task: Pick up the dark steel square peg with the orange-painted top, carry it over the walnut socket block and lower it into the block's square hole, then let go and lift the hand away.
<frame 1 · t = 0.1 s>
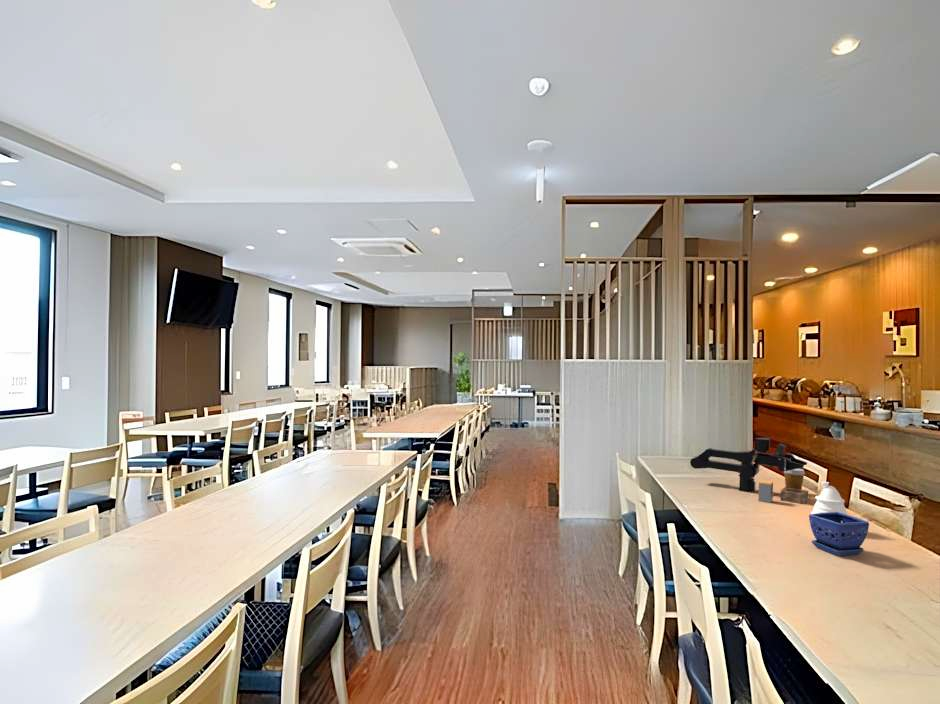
hand: (805, 464, 283), 17 cm above the table, tool horizontal, fingers open, 9 cm apart
socket block: (794, 500, 281), on the table
flower pot: (837, 551, 209), on the table
disposable coffee cup: (793, 493, 295), on the table
honey pot: (829, 528, 237), on the table
steel peg: (765, 501, 277), on the table
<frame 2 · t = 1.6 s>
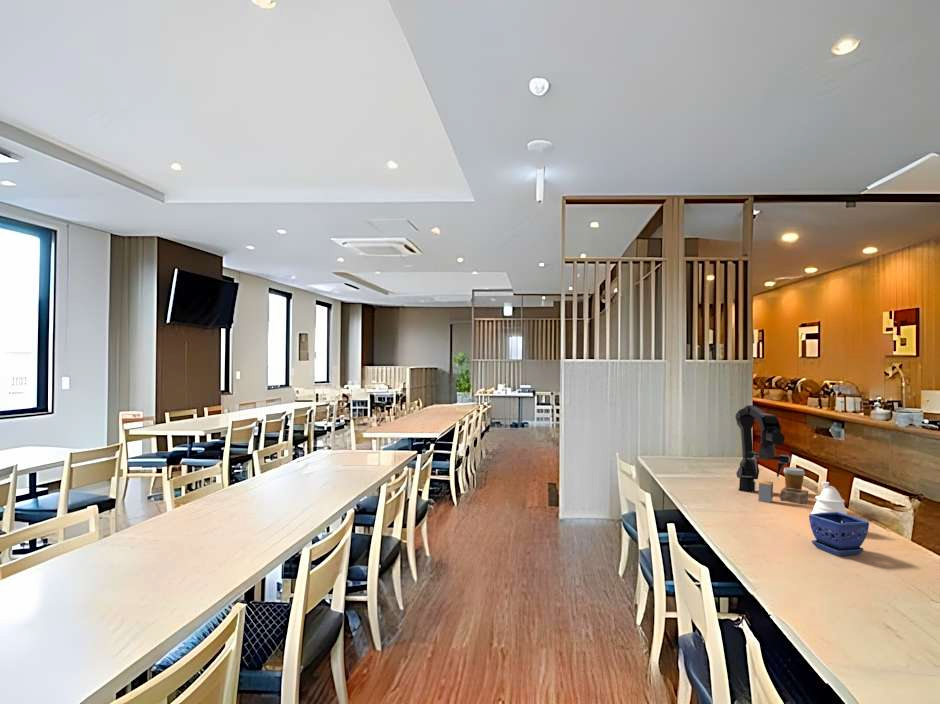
hand: (766, 475, 277), 12 cm above the table, tool pointing down, fingers open, 9 cm apart
nothing on the table moved.
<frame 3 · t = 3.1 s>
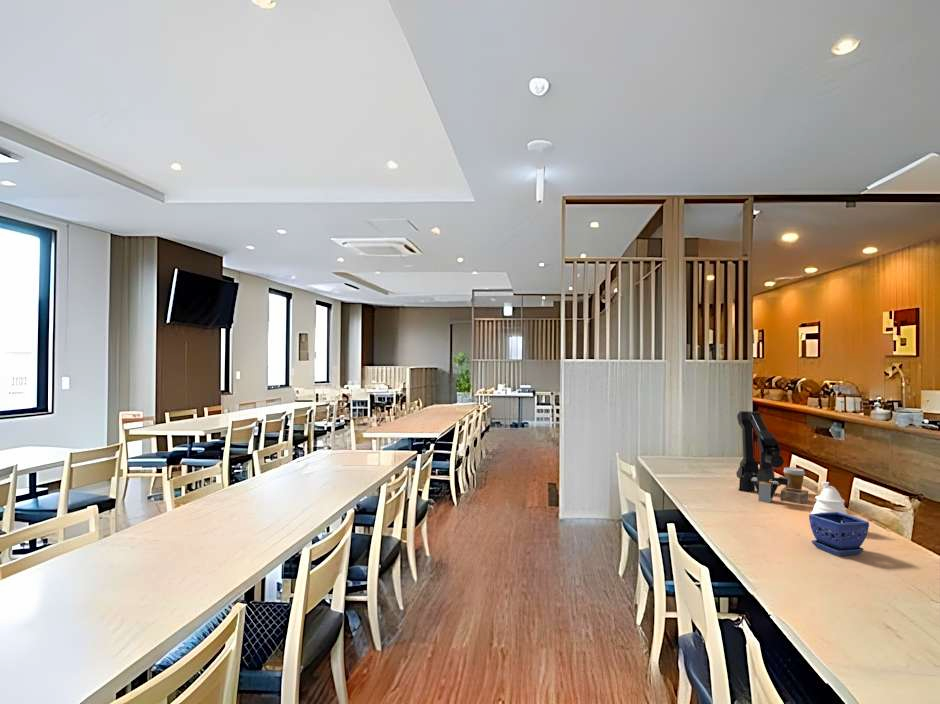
hand: (765, 496, 277), 2 cm above the table, tool pointing down, fingers closed on steel peg, 5 cm apart
steel peg: (765, 501, 277), on the table, touching gripper
everything else where it was.
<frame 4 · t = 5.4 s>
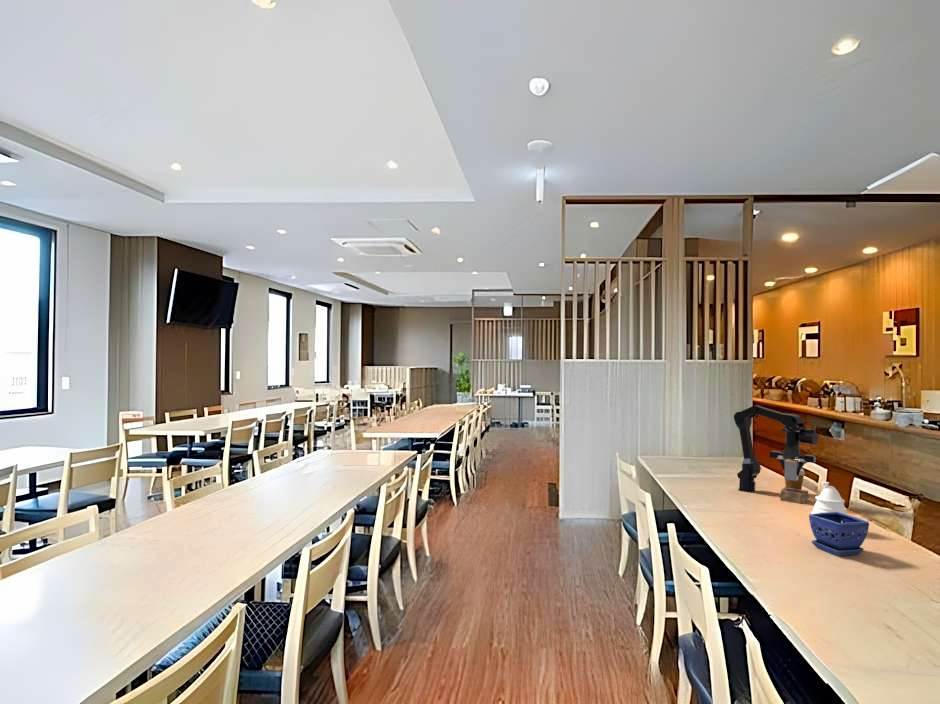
hand: (791, 474, 280), 12 cm above the table, tool pointing down, fingers closed on steel peg, 5 cm apart
steel peg: (791, 479, 280), point 10 cm above the table, touching gripper
everything else where it was.
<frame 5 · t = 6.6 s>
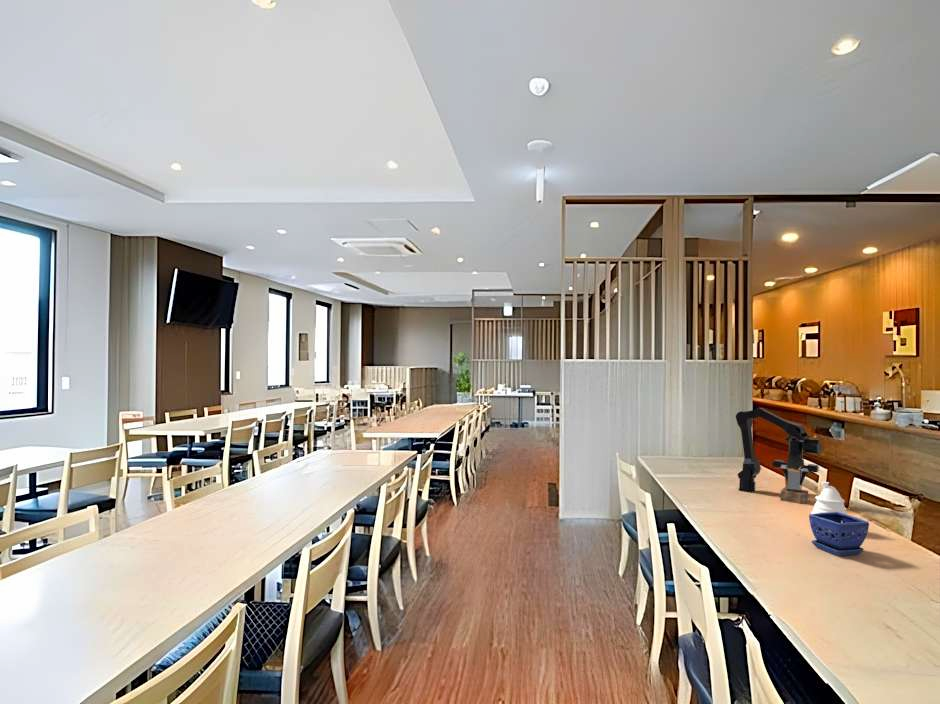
hand: (794, 484, 281), 8 cm above the table, tool pointing down, fingers closed on steel peg, 5 cm apart
steel peg: (794, 488, 281), point 6 cm above the table, touching gripper
everything else where it was.
when the fingers open (5 cm above the table, at t = 7.5 s): steel peg drops 3 cm, resting in socket block.
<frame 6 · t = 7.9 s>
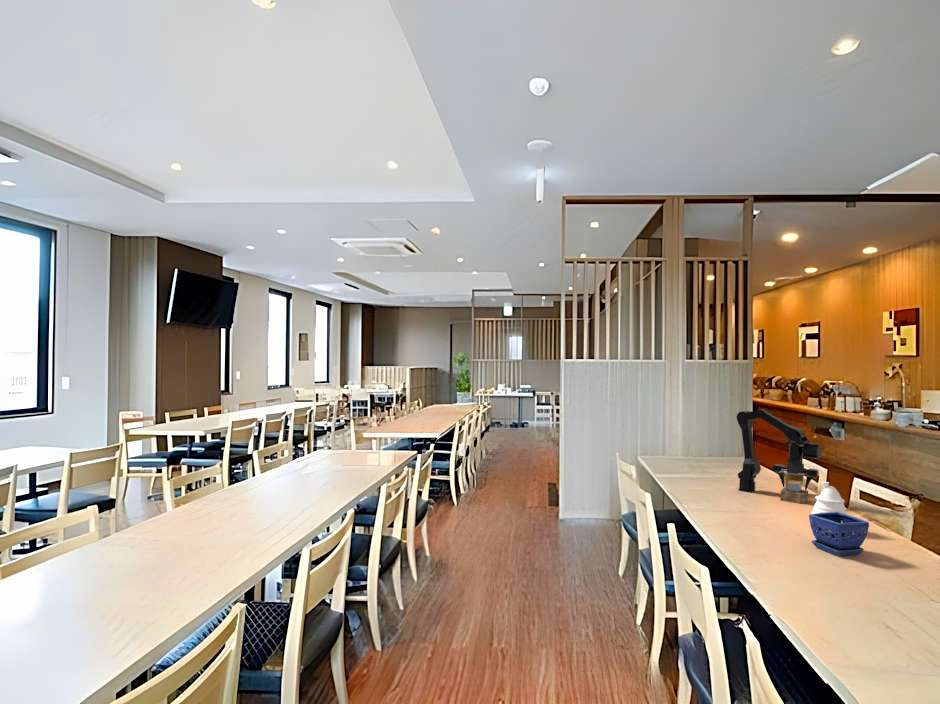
hand: (794, 488, 281), 5 cm above the table, tool pointing down, fingers open, 9 cm apart
steel peg: (794, 500, 281), resting in socket block
everything else where it was.
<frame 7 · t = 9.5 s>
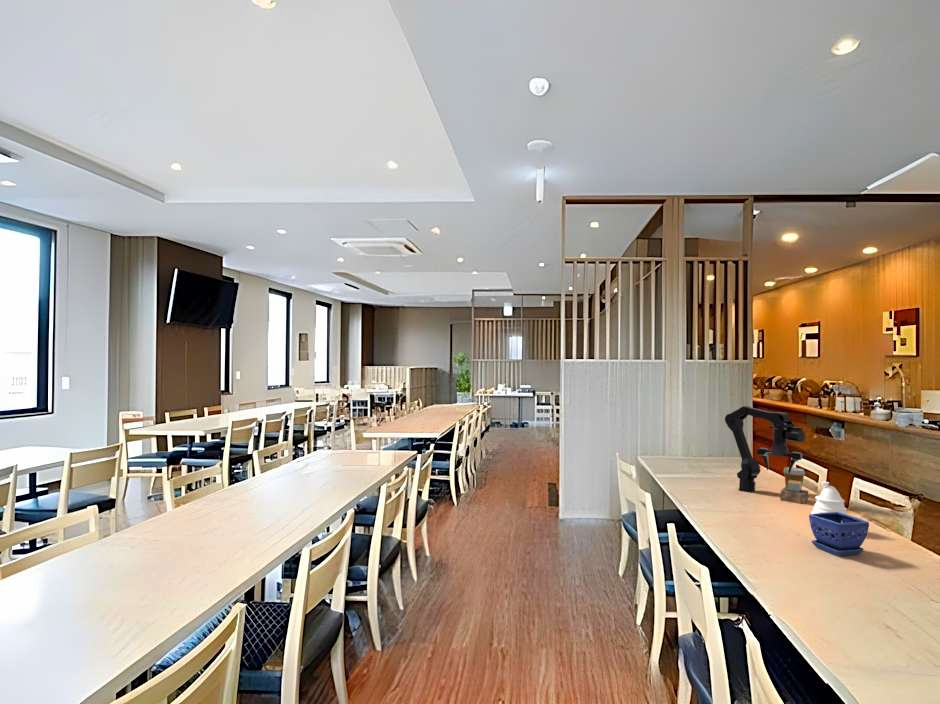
hand: (778, 471, 284), 13 cm above the table, tool pointing down, fingers open, 9 cm apart
nothing on the table moved.
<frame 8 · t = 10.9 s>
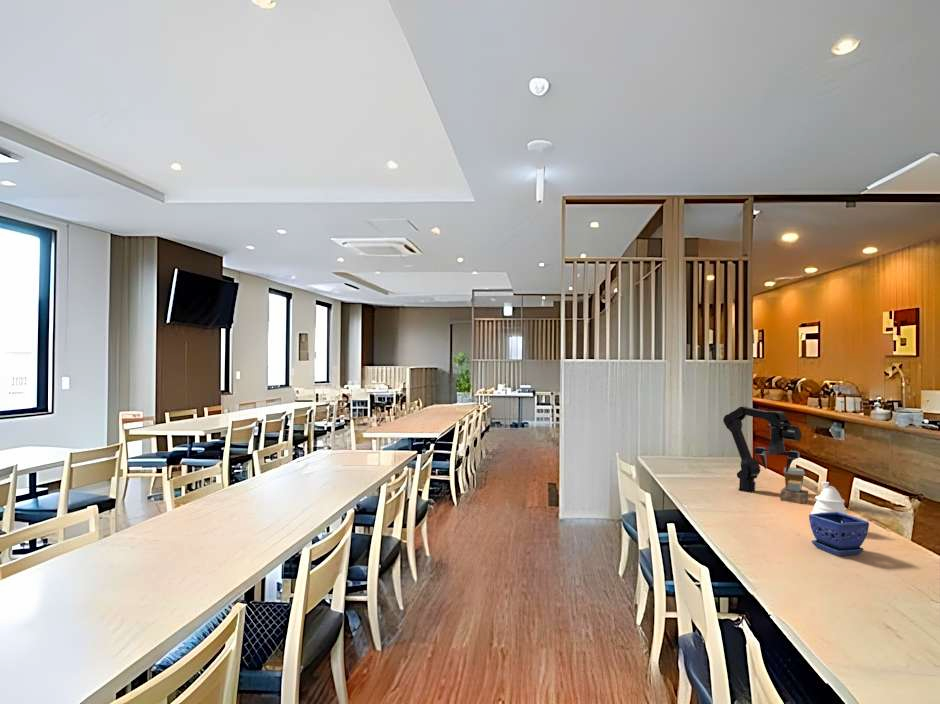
hand: (776, 470, 285), 13 cm above the table, tool pointing down, fingers open, 9 cm apart
nothing on the table moved.
at the end: steel peg 0.1 cm off-centre on the socket block, point 0.0 cm above the socket block's base; steel peg tilted 0°; the gripper is holding nothing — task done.
